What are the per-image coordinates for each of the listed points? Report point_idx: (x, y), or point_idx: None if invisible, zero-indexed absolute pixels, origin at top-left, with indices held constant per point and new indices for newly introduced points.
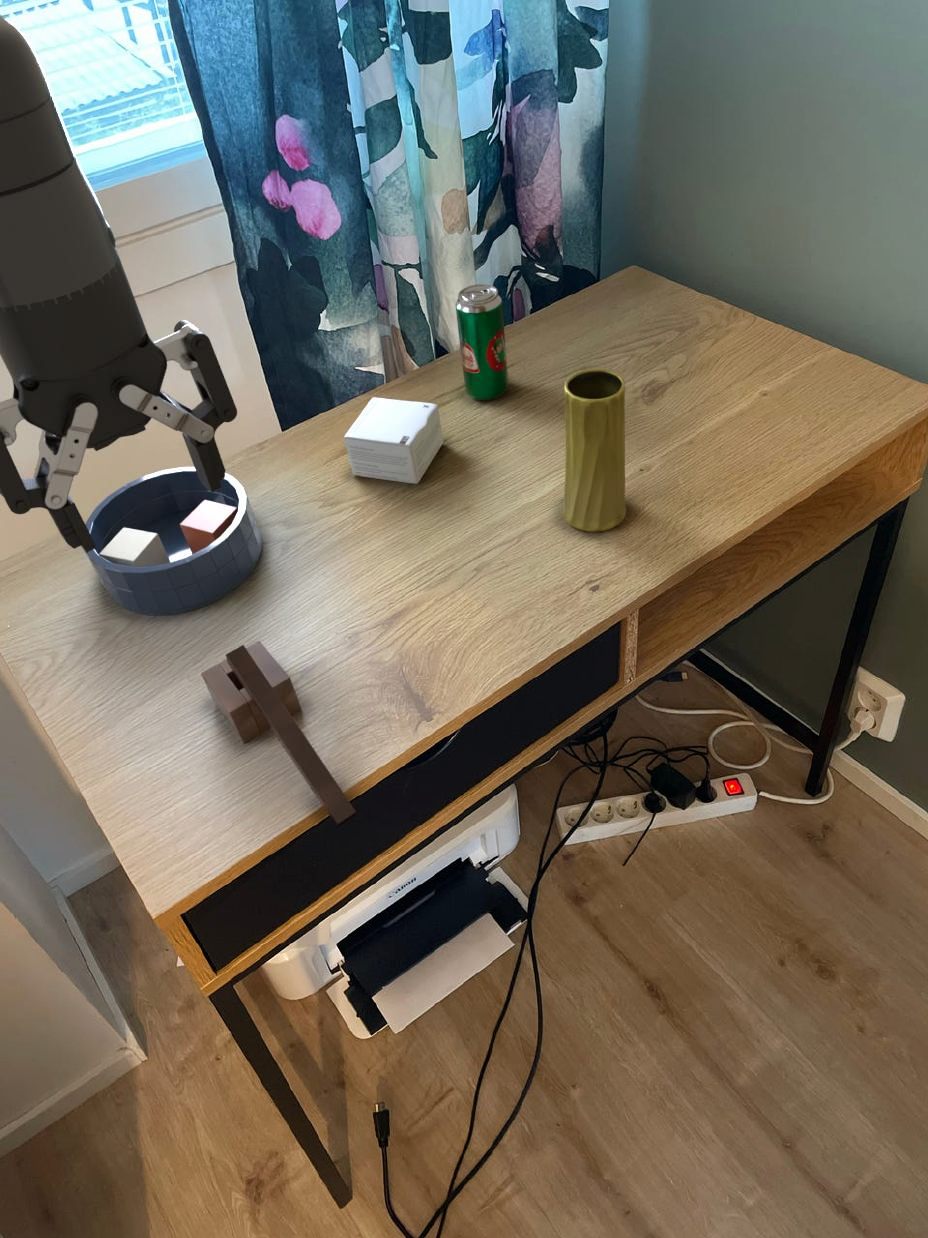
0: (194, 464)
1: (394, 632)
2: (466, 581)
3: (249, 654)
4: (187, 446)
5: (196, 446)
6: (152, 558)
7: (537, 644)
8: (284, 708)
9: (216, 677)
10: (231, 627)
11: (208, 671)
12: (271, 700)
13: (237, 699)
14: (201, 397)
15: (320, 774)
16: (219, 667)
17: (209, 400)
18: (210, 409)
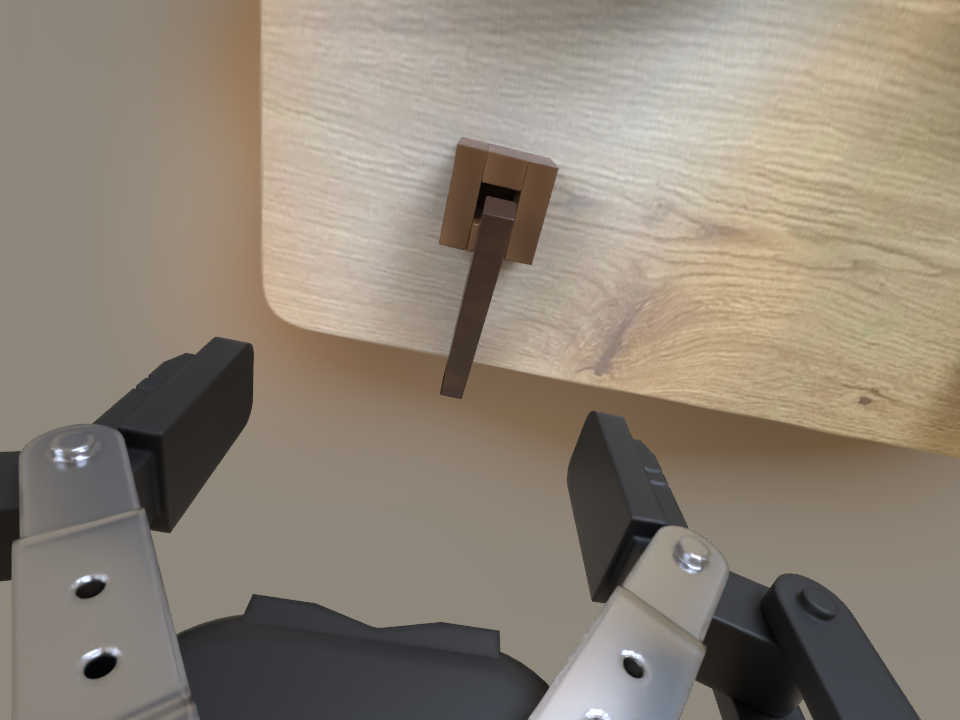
0: (601, 448)
1: (696, 251)
2: (826, 267)
3: (509, 236)
4: (617, 488)
5: (597, 598)
6: None
7: (750, 399)
8: (486, 307)
9: (468, 173)
10: (585, 12)
11: (467, 153)
12: (482, 293)
13: (460, 235)
14: (786, 629)
15: (461, 365)
16: (483, 161)
17: (773, 670)
18: (726, 687)
